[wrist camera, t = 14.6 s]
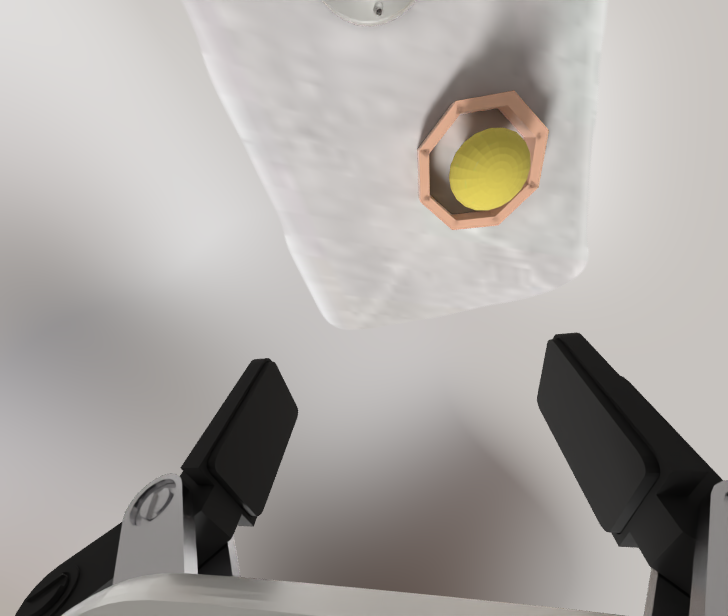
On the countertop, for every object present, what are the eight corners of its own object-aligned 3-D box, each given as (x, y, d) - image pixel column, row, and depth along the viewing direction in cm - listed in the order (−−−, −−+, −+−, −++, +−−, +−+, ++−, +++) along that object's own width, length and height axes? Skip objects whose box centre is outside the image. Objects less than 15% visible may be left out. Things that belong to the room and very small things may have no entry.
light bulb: (439, 136, 29) (456, 135, 20) (505, 123, 28) (553, 116, 19) (440, 201, 32) (455, 223, 24) (500, 192, 31) (538, 212, 23)
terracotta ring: (416, 110, 28) (417, 107, 25) (542, 87, 26) (557, 82, 23) (419, 226, 34) (421, 233, 32) (521, 215, 32) (532, 221, 30)
